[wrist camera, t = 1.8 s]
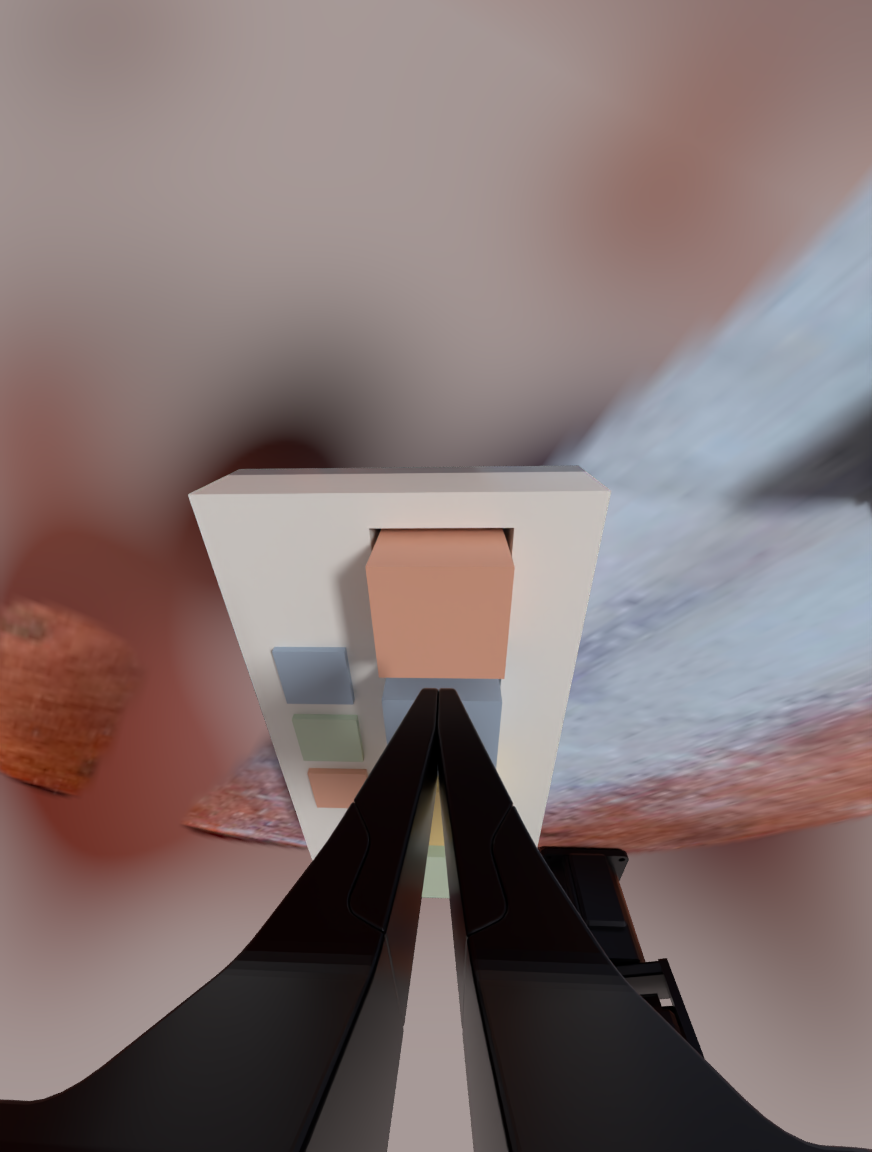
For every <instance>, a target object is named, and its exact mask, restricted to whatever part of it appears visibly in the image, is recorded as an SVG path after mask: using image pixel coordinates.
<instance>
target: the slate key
mask: <svg viewBox="0 0 872 1152" xmlns="http://www.w3.org/2000/svg"><path fill="white" fill-rule="evenodd" d="M423 688H437V689H438V691H439V689H440V688H454V689H455V690H456V691H457V693H458V695H459V697H460V699H461V701H462V703H463V705H464V707H465V709H466V711H467V713H468V715H469V717H470V719H471V721H472V723H473V725H474V727H475V729H476V731H477V733H478V735H479V737H480V739H481V741H482V742H483V744H484V746H485V748H486V750H487V752H488V754H489V756H490V758H491V760H492V762H493V764H494V766H495V768H496V765H497V754H498V743H499V732H500V722H501V711H502V696H501V690H500V683H499V679H465V678H386V681H385V686H384V691H383V696H382V708H383V716H384V724H385V732H386V741H387V744H388V743H389V741H390V740H391V738H392V736H393V735H394V733H395V731H396V730H397V728H398V727H399V725H400V723H401V722H402V720H403V718H404V717H405V715H406V714H407V712H408V710H409V709H410V707H411V705H412V704H413V702H414V701H415V699H416V697H417V696H418V694H419V692H420V691H421V689H423Z"/></svg>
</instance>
